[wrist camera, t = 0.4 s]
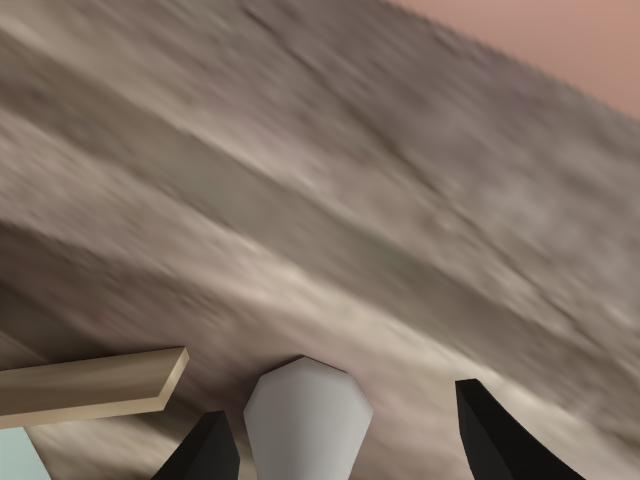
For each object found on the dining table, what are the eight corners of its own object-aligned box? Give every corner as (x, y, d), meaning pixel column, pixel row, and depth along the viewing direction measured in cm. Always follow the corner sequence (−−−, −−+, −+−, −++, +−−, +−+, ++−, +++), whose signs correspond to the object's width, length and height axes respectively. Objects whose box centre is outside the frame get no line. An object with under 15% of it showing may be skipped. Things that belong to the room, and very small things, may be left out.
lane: (231, 483, 28) (210, 566, 23) (-10, 507, 29) (-75, 590, 25) (185, 346, 24) (149, 412, 19) (-88, 382, 26) (-183, 451, 21)
